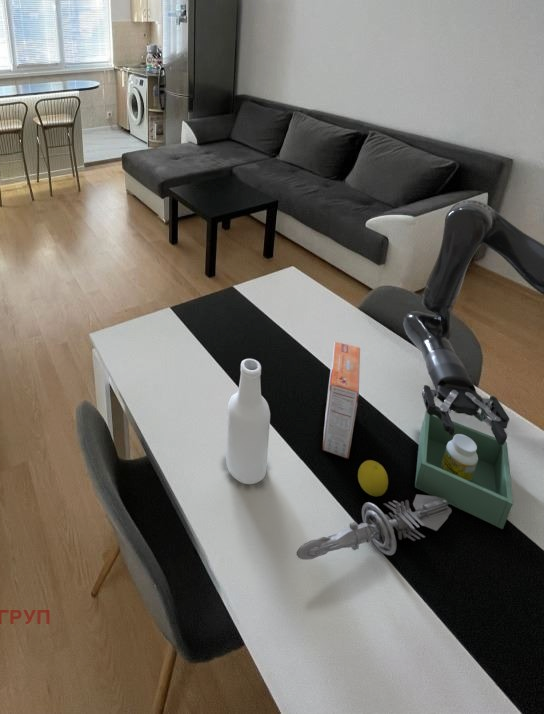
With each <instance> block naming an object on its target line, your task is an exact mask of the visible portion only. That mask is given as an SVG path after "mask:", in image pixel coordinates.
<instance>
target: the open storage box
mask: <svg viewBox="0 0 544 714" xmlns="http://www.w3.org/2000/svg"><path fill="white" fill-rule="evenodd" d="M452 423H453V425H454V428H455V431H454V434H453V435H449V434H448V432H447V431H445V430H444V429H443V426H442V424H441V421H440V419H439V418H438V416H436V415H429V414H428V413H427V410H425V413H424V417H423V421H422V425H421V428H420V432H419V438H418V439H419V441H418V448H417V449H418V450H417V459H416V460H417V462H416V472H415V480H414V488H415V489H417V490H419V491H421V492H423V493H426V494H427V495H429V496H437V497H438V498H445V499H446V500H447V503H450V504H449V505H451V506H453V507H455V508H457V509H459V510H461V511H463V512H465V513H468V514H469V515H472V516H474V517H476V518H478V519H480V520H482V521H485V522H487V523H488V524H491V525H493V526H495V527H497V528H498V529H501V530H503V529H504V527H505V525H506V523H507V520H508V518H509V515H510V513H511V511H512V509H513V505H514V499H513V490H512V479H511V470H510V460H509V448H508V442H507V441H506V442H505V443H504V445H501V444H498V442H497V440H496V438H495V436H492V435H489V434H487V433H484V432H482V431H479V430H476V429H474V428H471V427H469V426H467V425H464V424H461V423H458V422H456V421H454V420H452ZM456 434H462V435H465V436H467V437H469V438H471V439H472V440H473V441H474V442H475V444H476V446H477V450H476V453H477V456H478V462H477V465H476V468H475V471H474V474H473V477H472V480H471V482H470V481H467V480H465V479H463V478H461V477H458V476H456V475H454V474H452V473H449V472H447V471H445V470H443V469H441V464H442V460H443V457H444V453H445V450H446V446H447V443H448V442H449V441H451V440H452V439H453V437H454V435H456Z"/></svg>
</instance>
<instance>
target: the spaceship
mask: <svg viewBox="0 0 544 714" xmlns="http://www.w3.org/2000/svg"><path fill="white" fill-rule="evenodd" d="M387 503H388V504H387ZM449 505H451V504H450V503H447V500H446V499H445V498H438V497H437V496H432V495H428V494H427V495H426V494H415V498H414V500H413V502H412V506H413V508H414V509H415V510H414V511H412V510H411V508H410V502H409V500H408V499H406V500H405V501H403V500H402V501H400V502H398V501H397V500H392V502H391V501H388V502H386V503H383V506H385V507H387V508H388V509H390V510H391V511H392V512H393V513H394V514H393V513H392V512H388V514H387V513H384V512H383V511H382V510H381V509H380V508H379V507H378V506H377V505H376V504H375V503H372V502H369V501H368V502H365V503H363V505H362V508H361V517H362V522H361V523H359V524H358V523H357V522H356V521H352V522H350V523H349V527H348V528H345V529H343V530H342V531H340V532H338V533H335V534H332V535H328V536H321V537H318V538H315V539H312V540H309V541H307V542H305V543H303V544H301V546H299V548H297V550H296V554H295V555H296V557H297V558H298V559H300V560H304V561H305V560H306V561H307V560H309V561H310V560H314V559H316V558H318V557H321V556H325V555H326V554H328V553H329V552H332V551H333V552H334V551H337V550H341V549H349V548H351V549H352V551H357V550H359V548H360V545H361V544H364V543H367V544H369V543H370V542H371V541H372V543H373V544H374V546H375V547H376V548H377V549H378V550H379V551H380V552H381V553H382V554H384V555H386V556H393V555H394V554H395V553H396V551H397V539H396V535H395V529H396V531H397V537H398V540H399V541H402V539H407V538H408V539H410V540H411V541H413V542H415V541H416V540H421V537H422V538H426V536H425V535H424V534H423V533H421V532H420V531H419V530H417V529H416V528H420V525H421V527H426V528H428V529H431V530H433V531H435V532H437V531H438V530H439V529H440V528H441V527H442V525H443V524H444V523H445V522H446V521H447V520H448V518H449V516H450V515H451V514H452V512H453V510H452V508H451V507H449ZM417 522H418V523H417ZM413 525H414V526H415V527H416V528H415V527H414V526H413ZM394 528H395V529H394ZM412 536H413V537H412Z"/></svg>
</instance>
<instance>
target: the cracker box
mask: <svg viewBox="0 0 544 714" xmlns="http://www.w3.org/2000/svg"><path fill="white" fill-rule="evenodd" d="M331 357H332V358H331V363H330V364H331V365H330V372H329V379H328V386H327V387H328V388H327V397H326V406H325V414H324V415H325V416H324V424H323V425H324V426H323V438H322V439H323V440H322V451H324V452H327V453H329V454H332V455H335V456H338V457H341V458H344V459H347V460H349V458H350V452H351V446H352V439H353V432H354V426H355V421H356V415H357V408H358V402H359V397H360V371H361V370H360V369H361V367H360V365H361V364H360V363H361V347H359V346H354V345H350V344H347V343H342V342H338V341H334V343H333V350H332V356H331Z"/></svg>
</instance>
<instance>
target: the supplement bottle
mask: <svg viewBox="0 0 544 714" xmlns="http://www.w3.org/2000/svg"><path fill="white" fill-rule="evenodd" d="M476 450H477V446H476V444H475V442H474V441H473V440H472V439H471V438H469V437H467V436H465V435H462V434H456V435H454V437H453V439H452V440H451V441H449V442H448V443H447V446H446V450H445V453H444V457H443V460H442V464H441V469H443V470H445V471H447V472H449V473H452V474H454V475H456V476H458V477H461V478H463V479H465V480H467V481H470V482H471V480H472V477H473V474H474V471H475V468H476V465H477V462H478V456H477V453H476Z"/></svg>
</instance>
